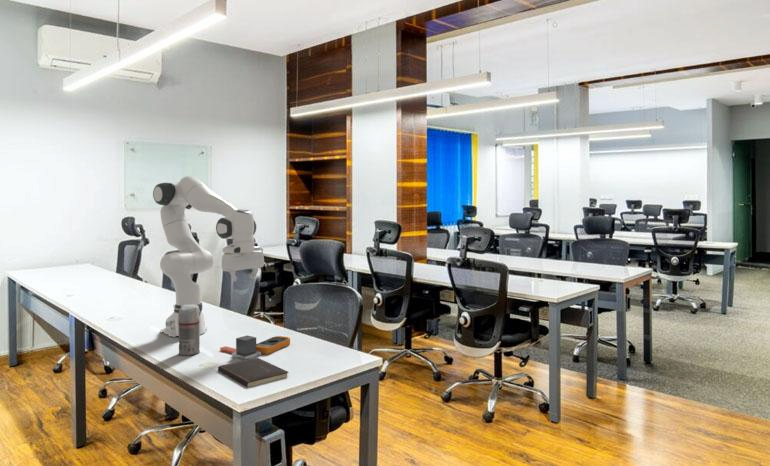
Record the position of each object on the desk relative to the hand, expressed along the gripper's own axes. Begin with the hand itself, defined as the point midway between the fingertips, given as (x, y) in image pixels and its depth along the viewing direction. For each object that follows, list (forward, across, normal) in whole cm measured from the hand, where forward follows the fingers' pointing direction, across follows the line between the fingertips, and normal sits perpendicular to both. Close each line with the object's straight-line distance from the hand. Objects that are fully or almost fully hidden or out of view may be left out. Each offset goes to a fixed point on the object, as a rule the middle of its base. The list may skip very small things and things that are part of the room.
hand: (243, 279), depth 223 cm
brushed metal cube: (+27, +10, +13) cm, 32 cm away
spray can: (+29, +21, -9) cm, 37 cm away
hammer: (+28, +10, +8) cm, 31 cm away
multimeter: (+29, -4, +13) cm, 32 cm away
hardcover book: (+29, +22, +32) cm, 49 cm away
